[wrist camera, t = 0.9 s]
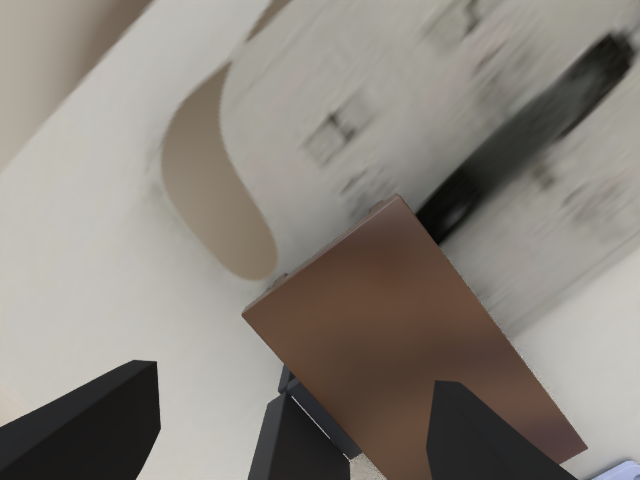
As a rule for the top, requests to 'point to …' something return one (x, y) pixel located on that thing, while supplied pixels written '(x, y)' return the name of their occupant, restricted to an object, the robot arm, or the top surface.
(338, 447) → the chair
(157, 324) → the top surface
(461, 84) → the top surface
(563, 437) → the brown toy table
